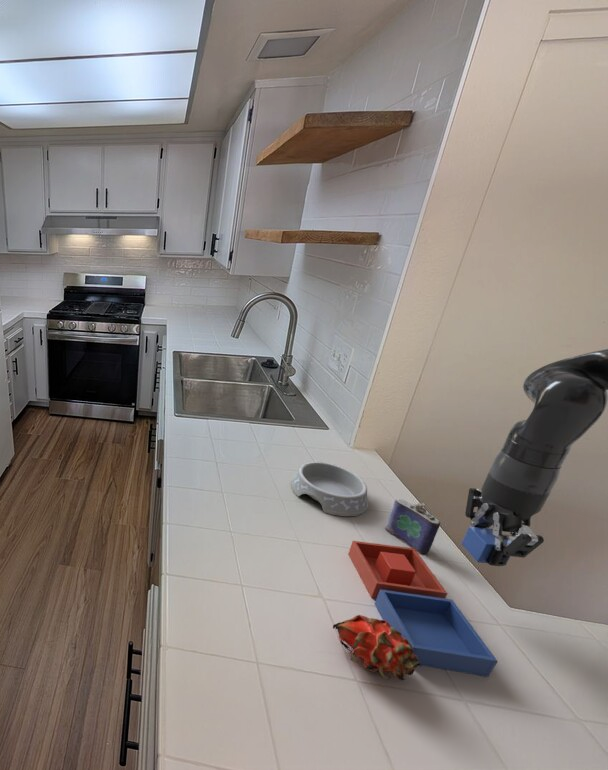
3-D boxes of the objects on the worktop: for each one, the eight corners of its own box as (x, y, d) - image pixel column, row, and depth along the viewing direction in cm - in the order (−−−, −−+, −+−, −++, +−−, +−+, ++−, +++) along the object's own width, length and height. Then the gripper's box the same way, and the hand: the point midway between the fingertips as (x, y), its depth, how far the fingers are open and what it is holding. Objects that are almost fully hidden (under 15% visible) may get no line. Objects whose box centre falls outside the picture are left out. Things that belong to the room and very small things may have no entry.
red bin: (408, 561, 85) (414, 548, 83) (440, 608, 74) (447, 593, 73) (348, 554, 87) (352, 540, 85) (371, 597, 76) (376, 583, 75)
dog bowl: (312, 467, 117) (316, 452, 115) (379, 501, 103) (385, 484, 101) (278, 486, 109) (282, 471, 107) (346, 526, 95) (351, 508, 92)
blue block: (487, 547, 74) (496, 529, 73) (505, 565, 70) (515, 547, 69) (460, 544, 75) (469, 526, 74) (477, 562, 71) (486, 543, 69)
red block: (397, 570, 82) (404, 554, 80) (409, 588, 78) (416, 572, 76) (374, 567, 83) (380, 551, 81) (384, 584, 79) (391, 568, 77)
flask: (382, 528, 94) (395, 493, 90) (390, 525, 95) (404, 490, 91) (423, 556, 86) (440, 519, 82) (431, 553, 87) (448, 515, 83)
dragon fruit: (415, 695, 62) (330, 655, 70) (420, 639, 65) (338, 606, 73) (421, 693, 56) (327, 649, 64) (426, 631, 60) (336, 597, 67)
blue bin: (444, 614, 73) (452, 599, 72) (488, 676, 63) (498, 661, 62) (374, 603, 75) (379, 589, 74) (405, 662, 65) (412, 647, 64)
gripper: (586, 509, 59) (539, 588, 66) (512, 458, 72) (478, 528, 79) (528, 503, 60) (488, 582, 67) (466, 454, 73) (437, 524, 80)
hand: (483, 553), depth 73 cm, fingers closed on blue block, 4 cm apart
